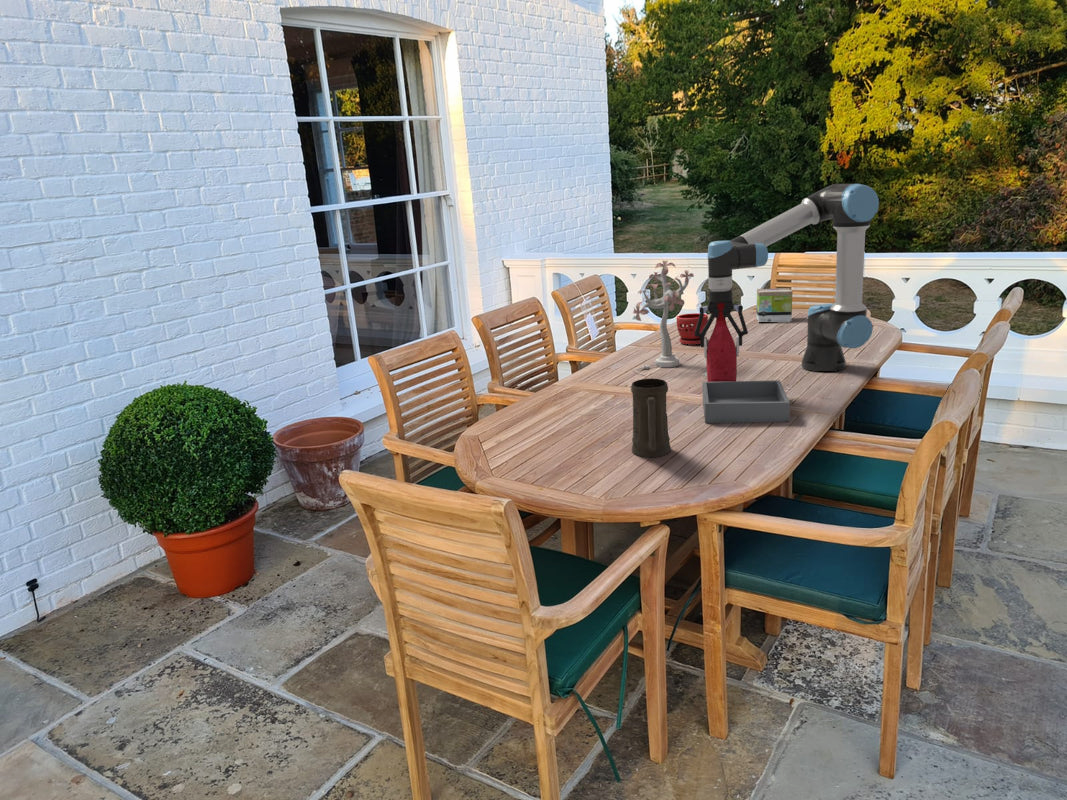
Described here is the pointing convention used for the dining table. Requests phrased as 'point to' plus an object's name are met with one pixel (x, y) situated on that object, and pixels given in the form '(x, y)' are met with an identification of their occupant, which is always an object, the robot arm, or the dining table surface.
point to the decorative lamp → (663, 302)
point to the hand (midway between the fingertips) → (721, 355)
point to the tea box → (774, 305)
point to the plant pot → (690, 328)
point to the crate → (745, 402)
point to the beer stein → (650, 418)
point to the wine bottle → (721, 352)
